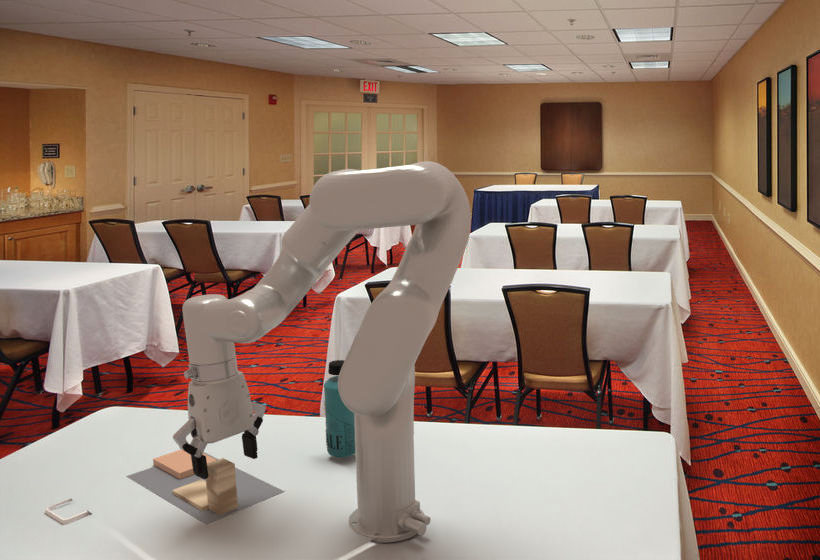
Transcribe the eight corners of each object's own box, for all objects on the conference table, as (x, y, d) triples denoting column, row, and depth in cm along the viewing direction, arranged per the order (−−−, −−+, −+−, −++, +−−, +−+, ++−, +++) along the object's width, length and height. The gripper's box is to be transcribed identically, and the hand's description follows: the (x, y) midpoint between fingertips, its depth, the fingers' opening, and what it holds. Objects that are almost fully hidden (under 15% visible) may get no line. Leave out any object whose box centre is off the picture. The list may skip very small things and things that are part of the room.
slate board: (285, 496, 141) (284, 491, 141) (206, 529, 130) (206, 524, 130) (201, 455, 161) (200, 450, 160) (126, 481, 149) (126, 476, 149)
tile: (216, 459, 152) (189, 446, 159) (179, 473, 147) (152, 458, 154) (217, 466, 153) (190, 452, 160) (180, 479, 147) (153, 465, 154)
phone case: (64, 528, 133) (144, 495, 144) (64, 520, 133) (144, 488, 144) (44, 515, 138) (123, 485, 149) (43, 508, 138) (123, 478, 149)
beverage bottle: (361, 452, 160) (358, 356, 157) (356, 465, 154) (352, 366, 150) (330, 451, 161) (325, 356, 157) (323, 465, 154) (318, 366, 151)
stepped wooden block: (243, 505, 136) (240, 461, 135) (213, 517, 132) (210, 472, 131) (202, 482, 146) (198, 441, 144) (172, 493, 141) (168, 451, 140)
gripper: (178, 387, 122) (193, 491, 125) (270, 359, 134) (281, 454, 137) (155, 380, 127) (169, 479, 130) (245, 353, 140) (256, 445, 142)
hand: (227, 466), depth 134 cm, fingers open, 9 cm apart
